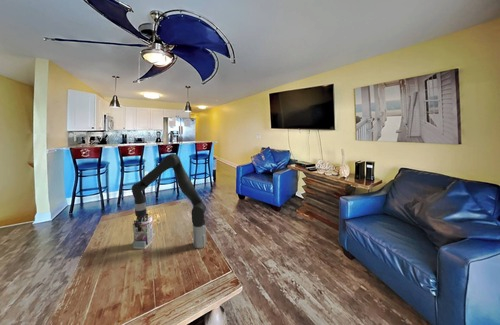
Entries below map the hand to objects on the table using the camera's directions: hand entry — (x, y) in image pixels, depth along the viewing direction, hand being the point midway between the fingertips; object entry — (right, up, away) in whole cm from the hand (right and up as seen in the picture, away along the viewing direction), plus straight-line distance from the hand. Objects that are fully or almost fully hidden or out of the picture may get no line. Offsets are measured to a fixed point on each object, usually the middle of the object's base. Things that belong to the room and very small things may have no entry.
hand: (142, 229), depth 144 cm
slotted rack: (0, -13, +2) cm, 13 cm away
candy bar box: (0, -11, +2) cm, 11 cm away
